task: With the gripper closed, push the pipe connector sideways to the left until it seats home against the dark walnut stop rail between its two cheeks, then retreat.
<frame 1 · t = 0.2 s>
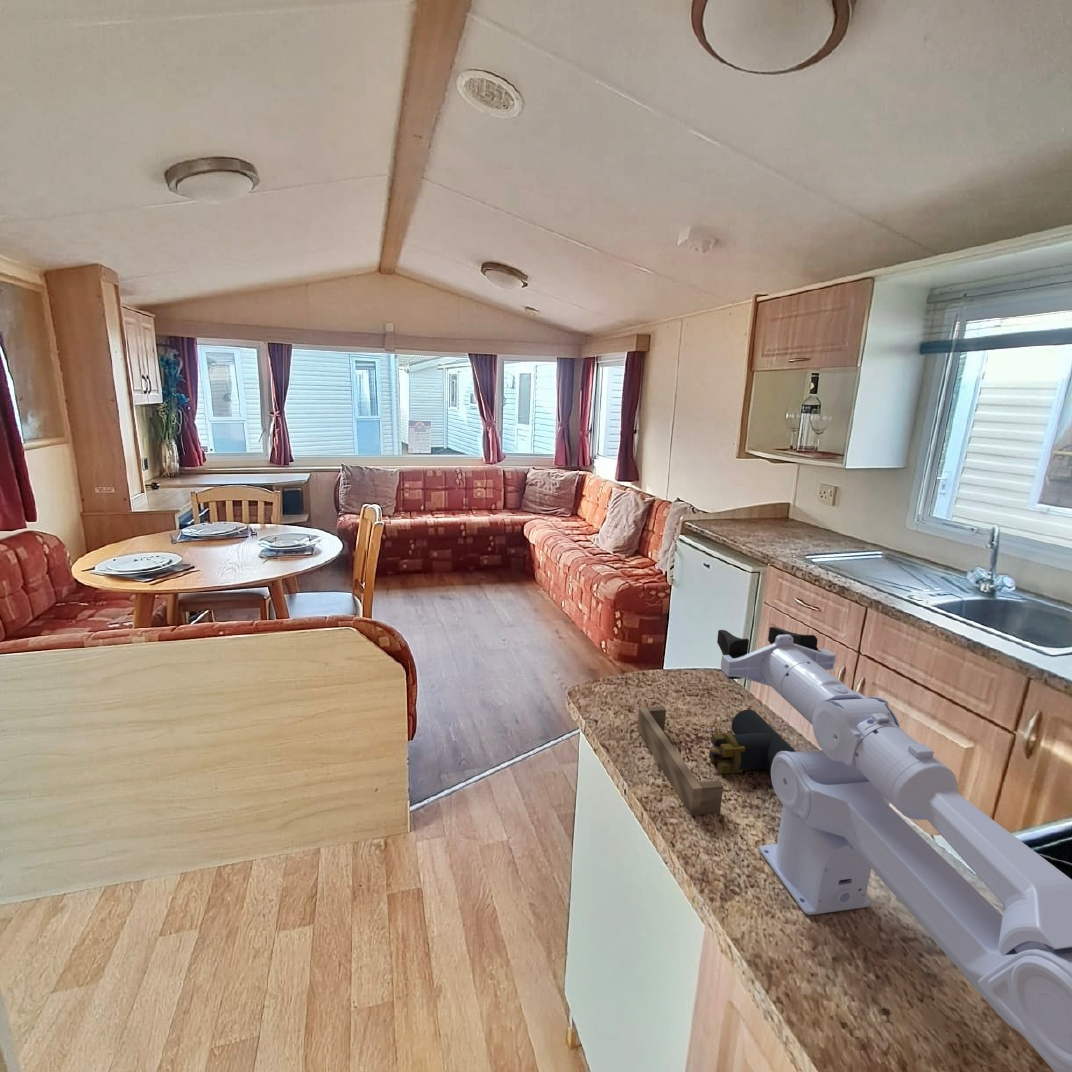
hand: (745, 634, 81), 21 cm above the countertop, tool horizontal, fingers open, 7 cm apart
pipe connector: (749, 767, 87), on the countertop
stop rail: (664, 767, 85), on the countertop
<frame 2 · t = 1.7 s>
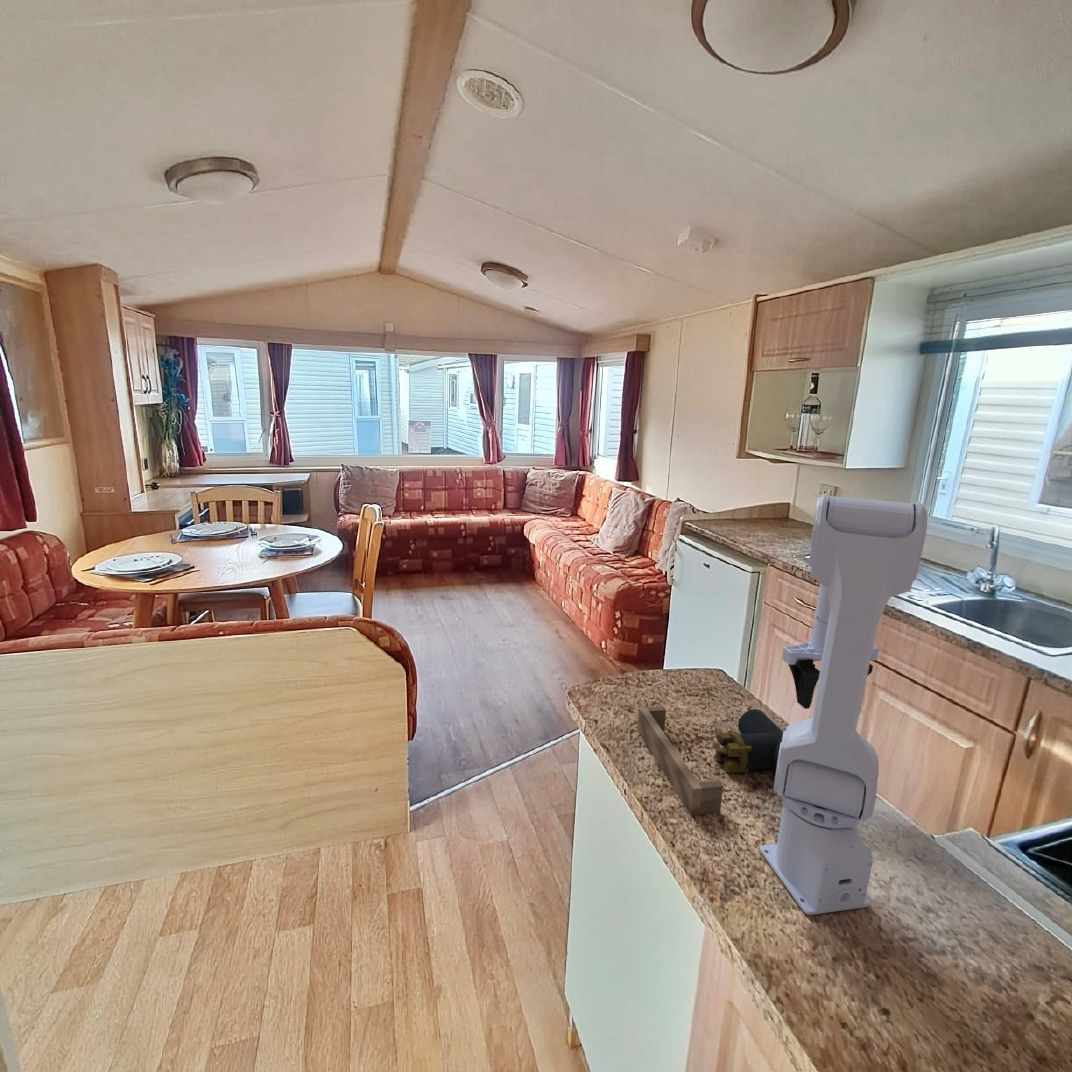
hand: (822, 704, 87), 9 cm above the countertop, tool pointing down, fingers open, 6 cm apart
pipe connector: (756, 767, 87), on the countertop
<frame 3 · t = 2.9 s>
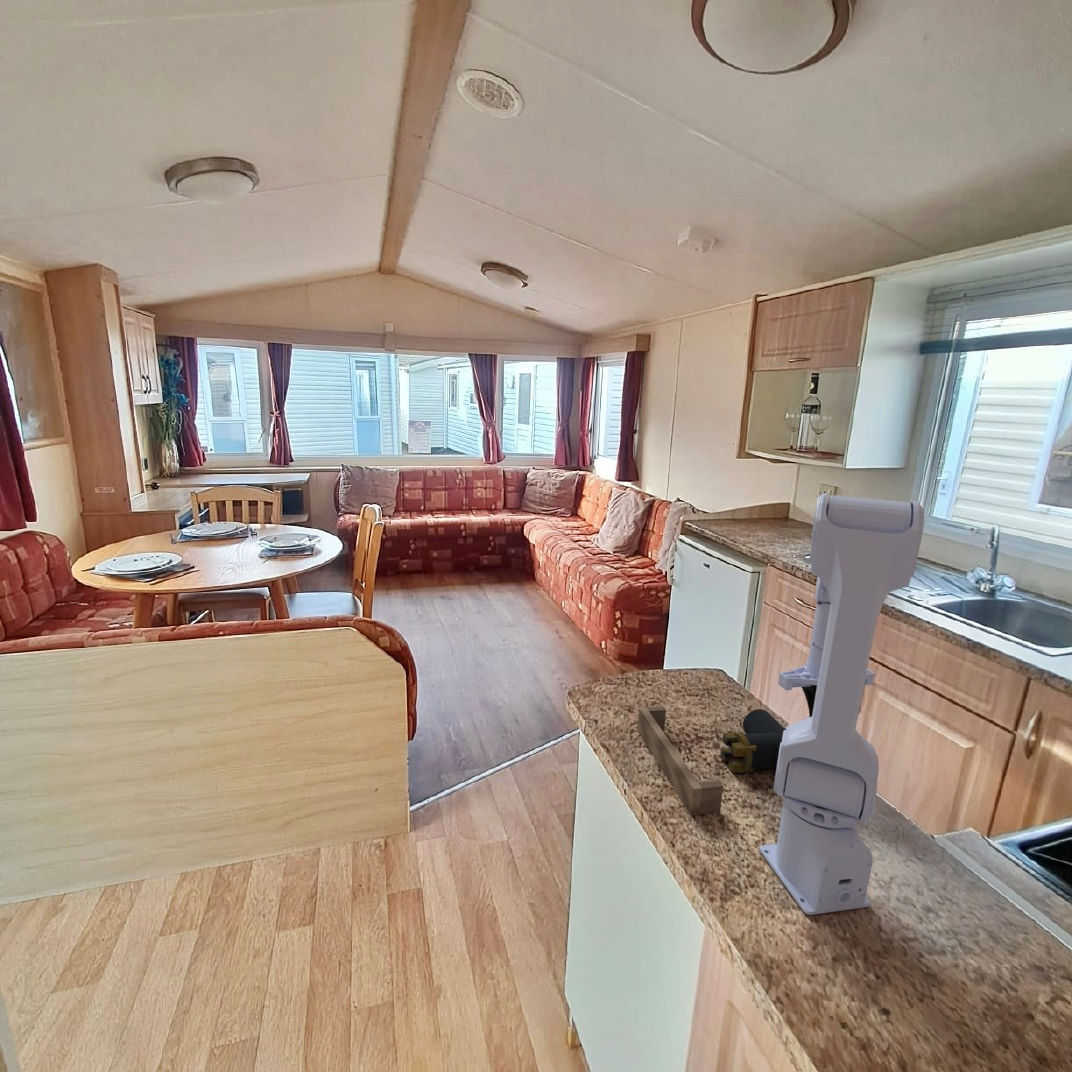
hand: (818, 727, 88), 5 cm above the countertop, tool pointing down, fingers closed
nothing on the countertop moved.
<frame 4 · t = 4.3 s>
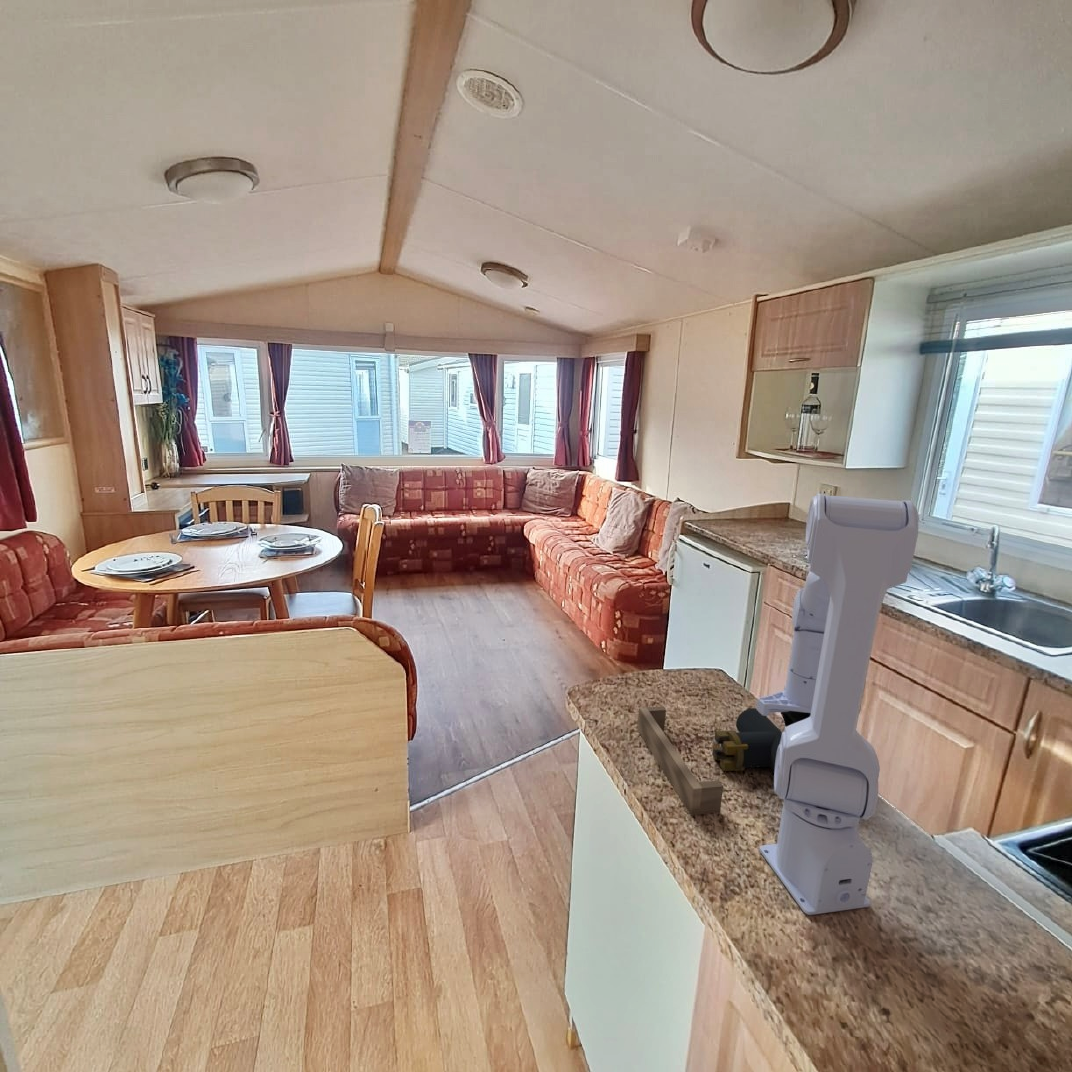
hand: (796, 752, 88), 1 cm above the countertop, tool pointing down, fingers closed
pipe connector: (753, 765, 87), on the countertop, touching gripper
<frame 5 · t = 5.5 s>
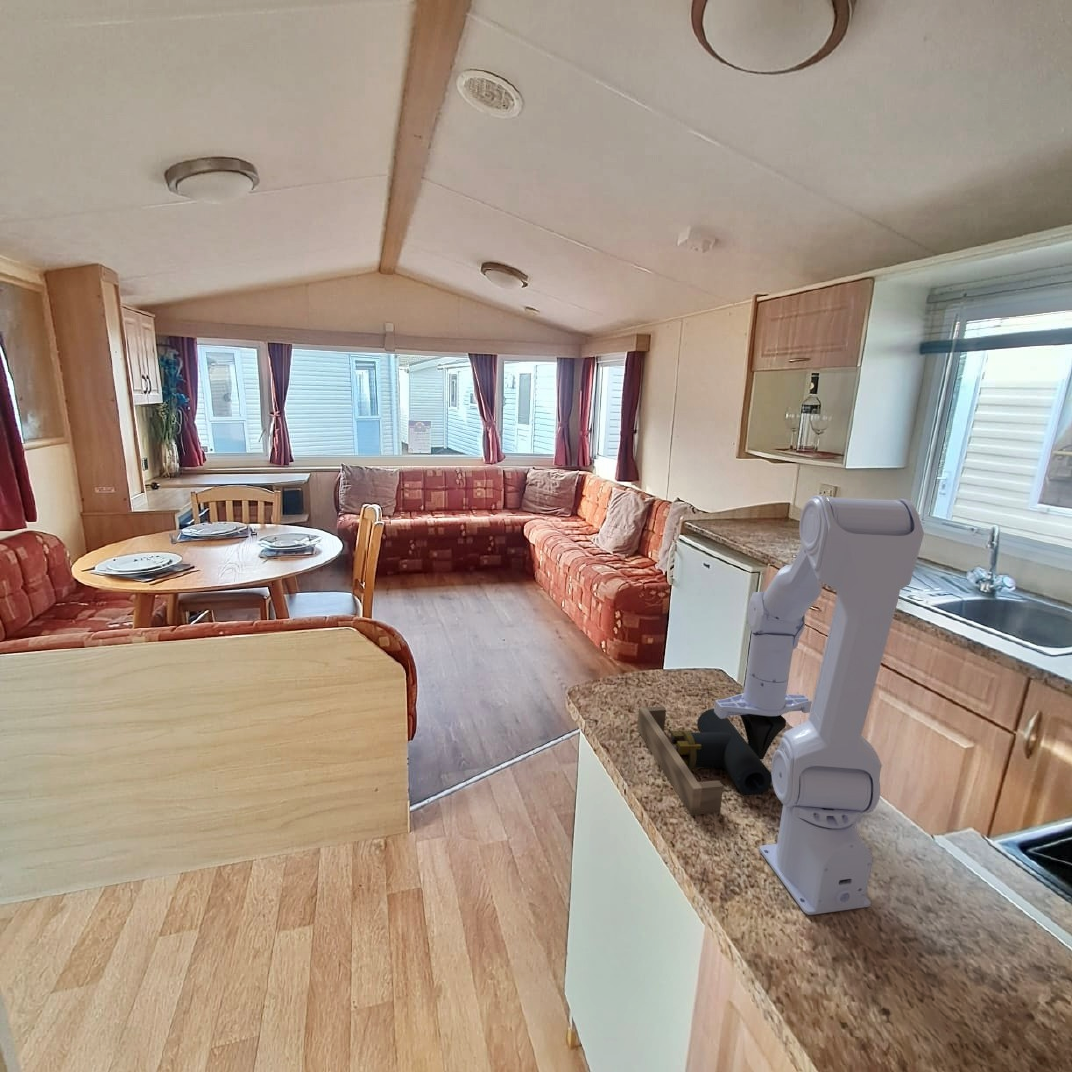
hand: (756, 755, 87), 1 cm above the countertop, tool pointing down, fingers closed
pipe connector: (708, 766, 87), on the countertop, touching gripper
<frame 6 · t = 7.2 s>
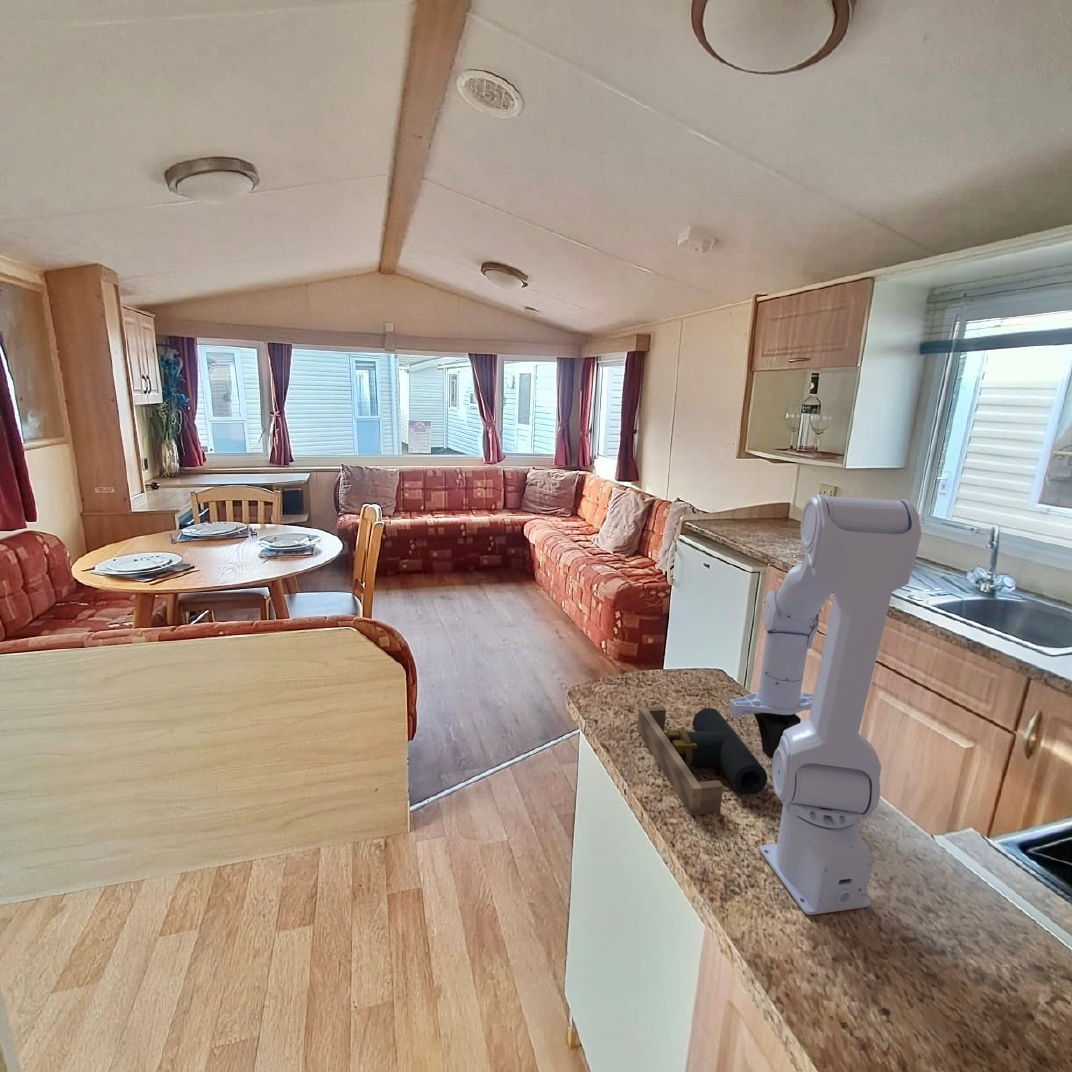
hand: (769, 754, 87), 1 cm above the countertop, tool pointing down, fingers closed
pipe connector: (704, 765, 87), on the countertop
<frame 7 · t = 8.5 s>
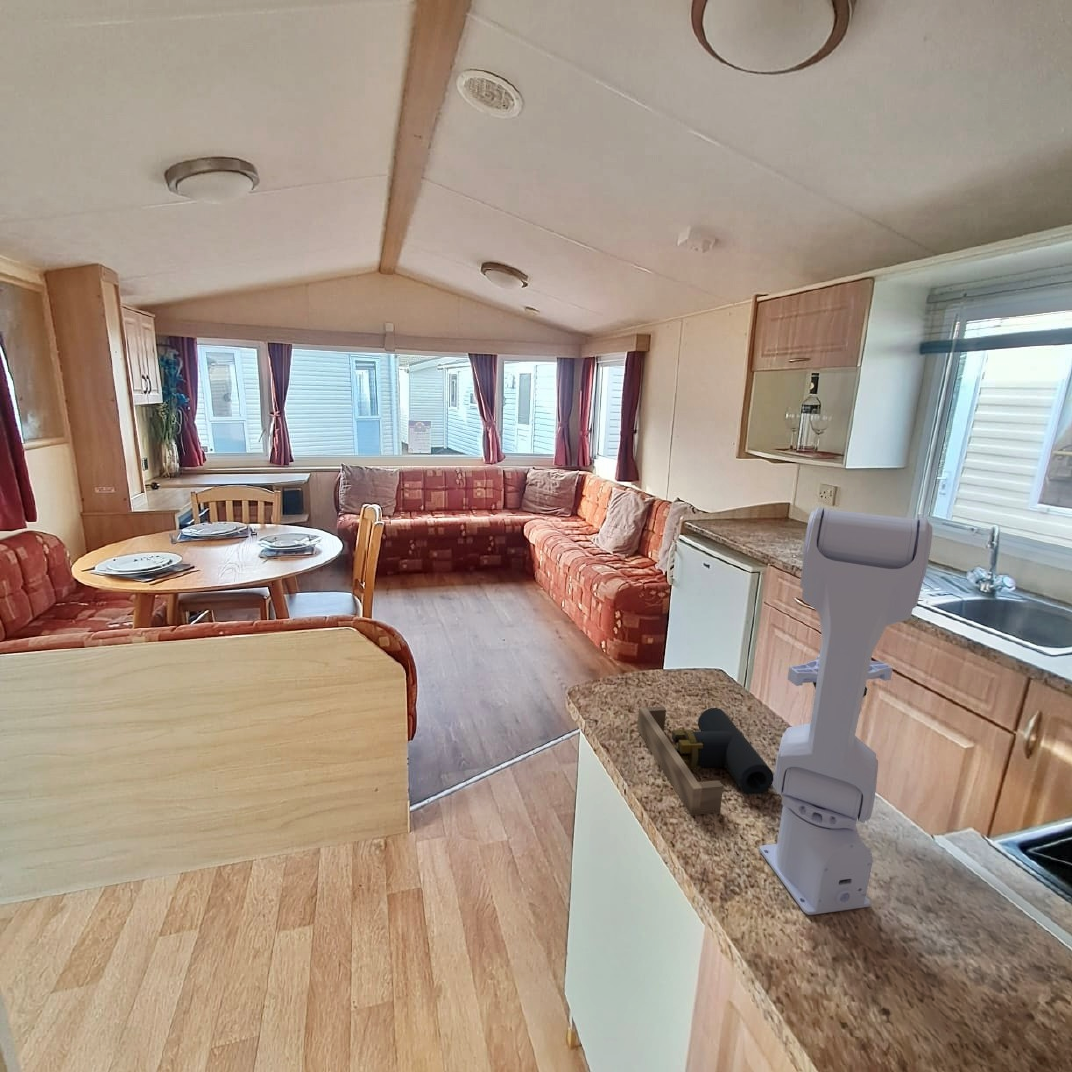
hand: (831, 727, 80), 9 cm above the countertop, tool pointing down, fingers closed
nothing on the countertop moved.
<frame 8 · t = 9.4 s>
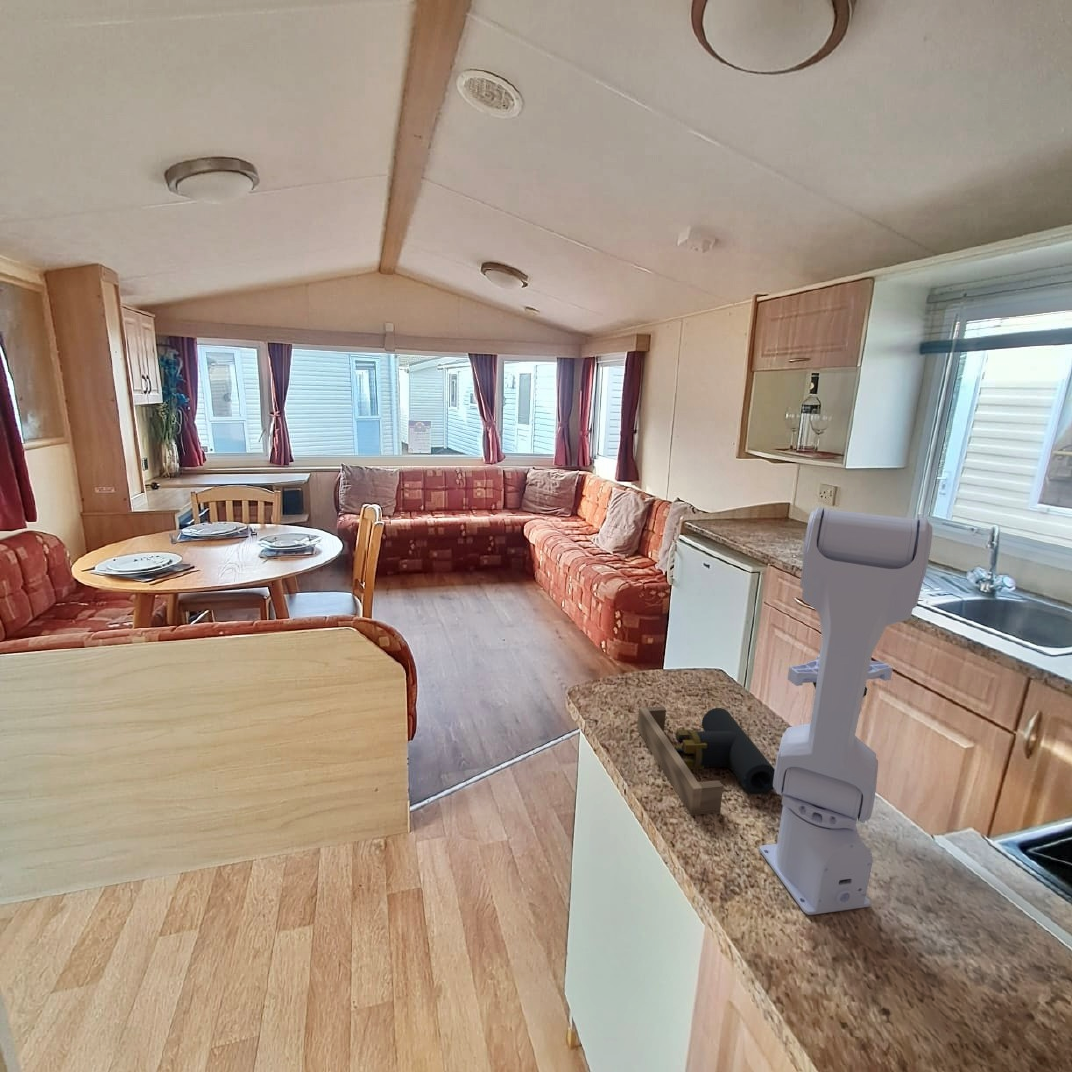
hand: (831, 727, 80), 9 cm above the countertop, tool pointing down, fingers closed
at the end: pipe connector 1.5 cm from the target spot, on the countertop; pipe connector tilted 0° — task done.
